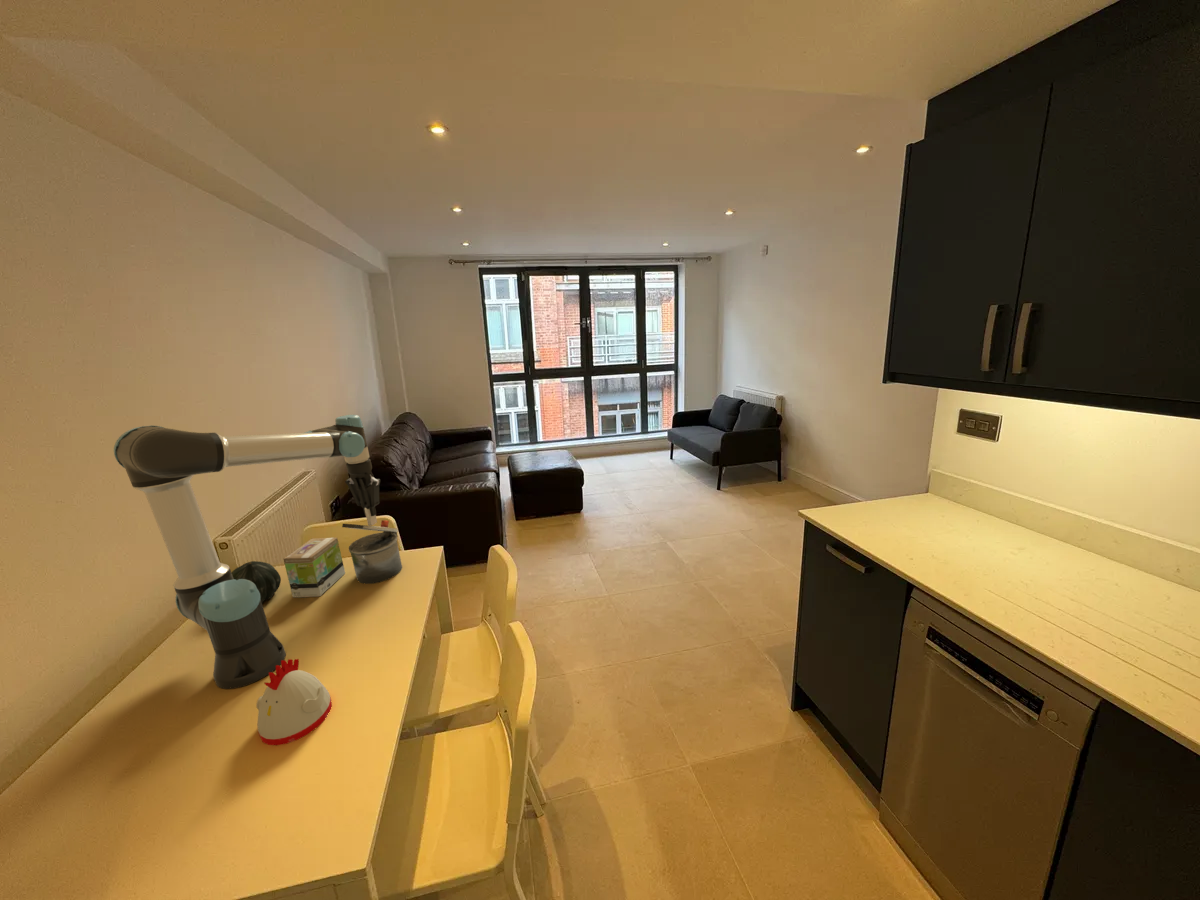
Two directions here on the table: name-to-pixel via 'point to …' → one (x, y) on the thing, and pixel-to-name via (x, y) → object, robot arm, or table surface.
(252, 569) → the squash
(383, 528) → the lid
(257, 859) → the table surface
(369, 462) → the robot arm
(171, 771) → the table surface
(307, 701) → the kitchen timer
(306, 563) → the tea box
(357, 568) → the pot
